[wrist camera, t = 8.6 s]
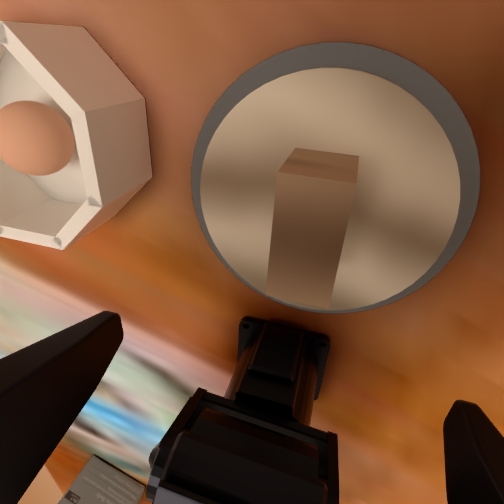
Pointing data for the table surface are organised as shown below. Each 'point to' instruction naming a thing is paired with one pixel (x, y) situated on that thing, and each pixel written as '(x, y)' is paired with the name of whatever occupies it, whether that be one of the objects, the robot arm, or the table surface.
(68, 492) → the skincare box
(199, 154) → the mat
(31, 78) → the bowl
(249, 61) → the table surface
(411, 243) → the lid
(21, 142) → the ball
